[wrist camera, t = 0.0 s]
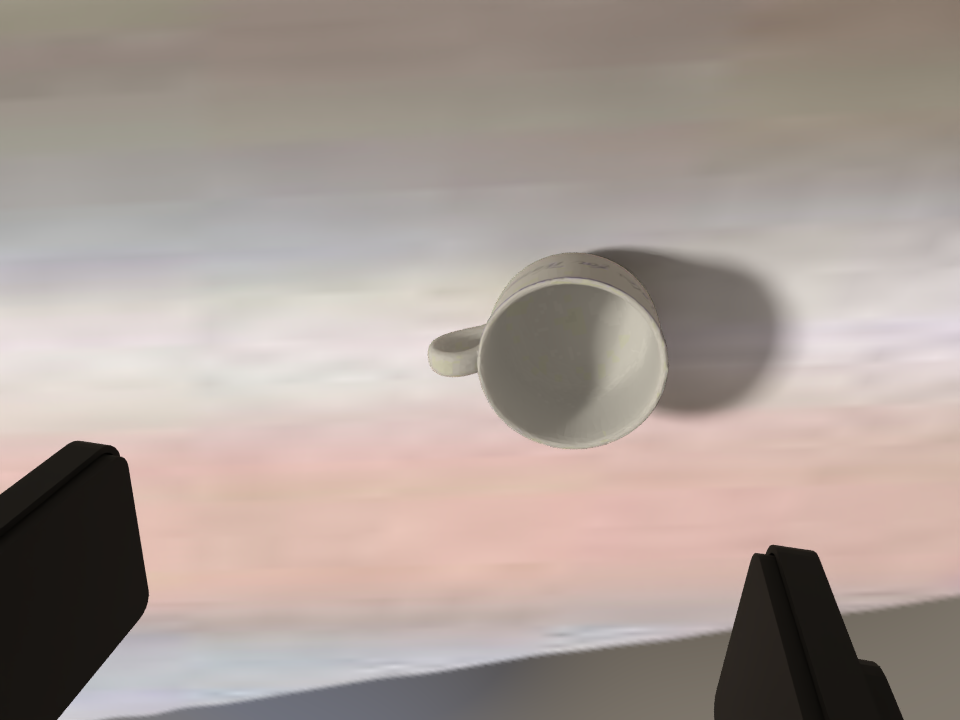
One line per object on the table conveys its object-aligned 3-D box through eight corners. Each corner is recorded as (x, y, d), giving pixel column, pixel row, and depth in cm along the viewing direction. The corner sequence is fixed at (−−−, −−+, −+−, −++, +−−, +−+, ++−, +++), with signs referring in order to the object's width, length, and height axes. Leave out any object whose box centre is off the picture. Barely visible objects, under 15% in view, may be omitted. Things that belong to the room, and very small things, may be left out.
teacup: (677, 254, 46) (689, 295, 38) (641, 407, 50) (645, 470, 43) (457, 220, 47) (429, 253, 40) (442, 371, 52) (413, 426, 44)
